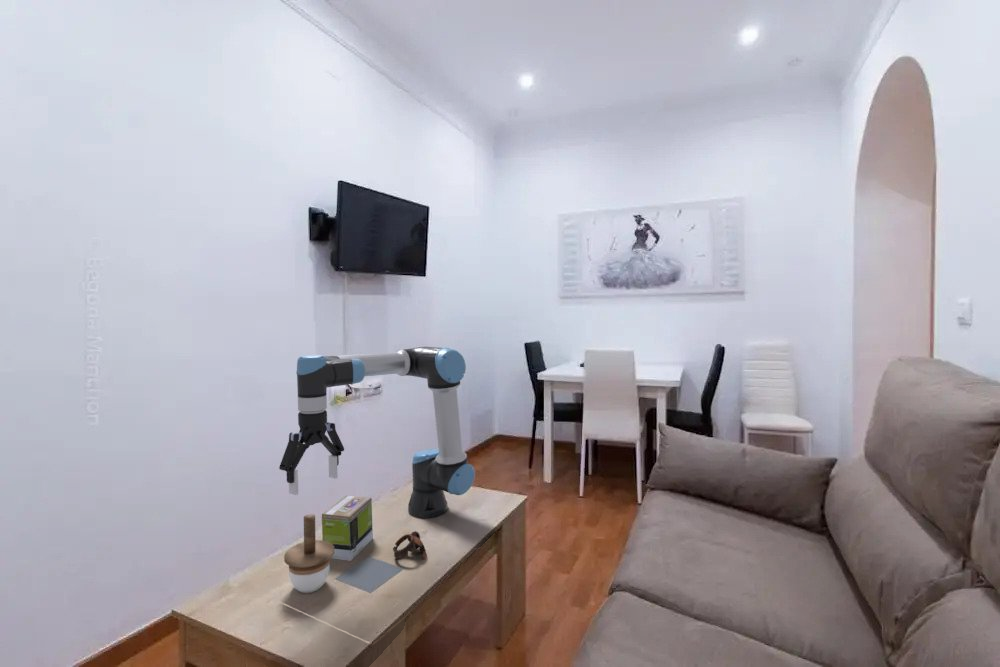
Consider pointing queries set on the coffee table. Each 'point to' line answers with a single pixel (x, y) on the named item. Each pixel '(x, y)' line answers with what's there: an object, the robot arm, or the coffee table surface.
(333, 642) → the coffee table surface
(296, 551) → the tan wooden handled piece
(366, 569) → the mat
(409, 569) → the coffee table surface
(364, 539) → the tea box
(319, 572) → the lidded jar
